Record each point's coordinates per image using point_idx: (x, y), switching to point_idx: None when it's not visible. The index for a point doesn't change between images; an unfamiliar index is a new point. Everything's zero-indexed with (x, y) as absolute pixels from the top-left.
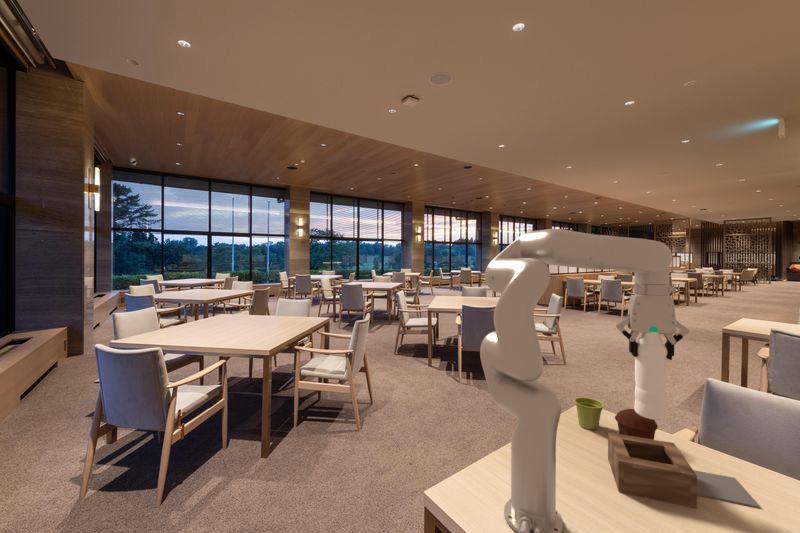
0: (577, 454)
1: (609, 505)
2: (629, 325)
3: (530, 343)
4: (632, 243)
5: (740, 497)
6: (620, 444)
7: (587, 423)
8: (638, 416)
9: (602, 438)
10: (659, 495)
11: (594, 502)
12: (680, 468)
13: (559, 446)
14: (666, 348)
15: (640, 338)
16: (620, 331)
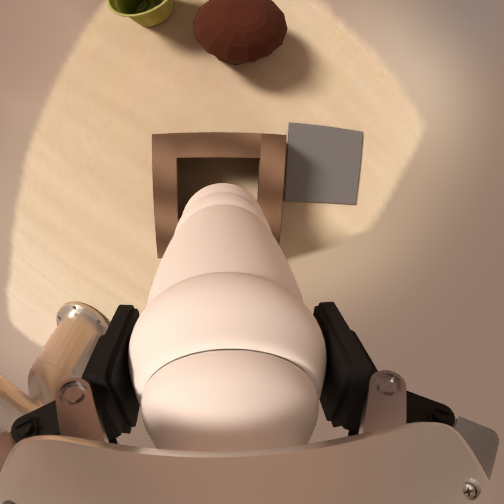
0: (113, 144)
1: (153, 274)
2: (15, 457)
3: None
4: None
5: (343, 188)
6: (168, 187)
7: (143, 23)
8: (242, 35)
9: (170, 51)
10: None
11: (136, 275)
12: None
13: (85, 129)
14: (327, 372)
15: (151, 437)
16: (12, 438)
